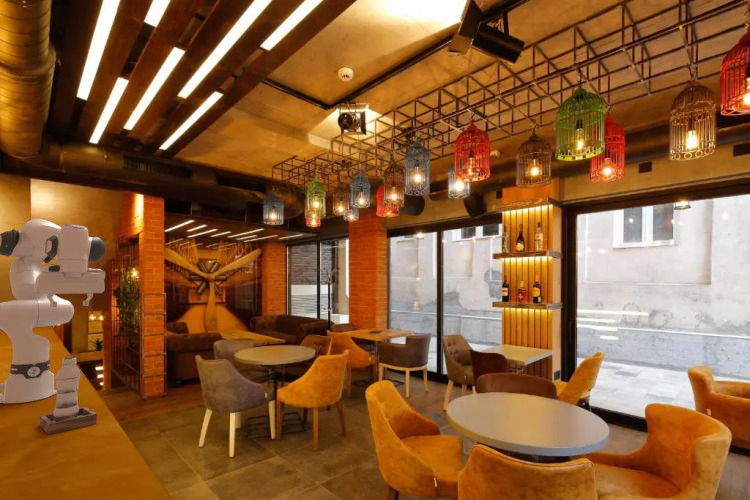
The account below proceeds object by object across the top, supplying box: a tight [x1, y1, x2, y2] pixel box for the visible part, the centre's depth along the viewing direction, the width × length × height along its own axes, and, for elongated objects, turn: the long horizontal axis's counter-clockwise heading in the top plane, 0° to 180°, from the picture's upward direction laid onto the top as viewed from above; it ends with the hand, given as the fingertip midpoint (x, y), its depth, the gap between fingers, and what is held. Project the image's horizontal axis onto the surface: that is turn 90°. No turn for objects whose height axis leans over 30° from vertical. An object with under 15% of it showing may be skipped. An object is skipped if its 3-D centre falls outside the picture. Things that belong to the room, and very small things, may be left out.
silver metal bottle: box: [53, 356, 82, 422], centre depth 125 cm, size 6×7×20 cm
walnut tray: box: [39, 406, 98, 435], centre depth 125 cm, size 12×12×3 cm
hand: (70, 306), depth 141 cm, fingers open, 8 cm apart
